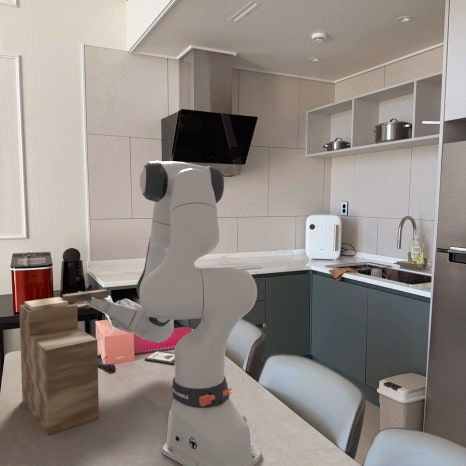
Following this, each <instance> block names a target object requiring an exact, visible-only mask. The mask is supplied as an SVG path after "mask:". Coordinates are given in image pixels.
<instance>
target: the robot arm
mask: <svg viewBox="0 0 466 466" xmlns="http://www.w3.org/2000/svg"><path fill="white" fill-rule="evenodd" d="M139 187H140V190H141V194H142V196H143V197H144V198H145V199H146V200H148V201H151V202H154V204H153V210H152V211H153V212H152V220H151V231H150V237H149V239H148V240H149V241H148V245H147V250H146V257H145V262H144V267H143V268H144V269H143V270H142V272H141V274H140V277H139V279H138V281H137V283H136V292H137V293H136V294H137V295H138V297H139V303H140V304H139V303H137V302H135V301H134V300H133V301H132V300H131V299H128V298H124V299H121V300H117V301H115V302H114V301H111V300H109V299H108V298H102V299H96V298H94V297H91V299H90V300H88V301H83V303H84V304H85V305H87V306H89V307H91V308H93V309H95V310H97V311H99V312H101V313H103V314H105V315H107V316H108V319H109V321H111V322H110V323H111V325H112V327H113V328H115V329H118V330H120V331H123V332H125V333H128V334H134V335H135V336H136V337H138V338H139V339H143V340H145V341H149V342H152V343H163V342H165V341H167V340H168V339H169V338H170V337H171V336H172V334H173V331H174V328H175V326H174V325H175V324H174V323H175V322H174V321H176V320H192V319H193V320H194V319H201V320H200V323H199V324H198V325H197V327H196V328H194V329H193V330H192V331H190V332H188V333H186V334H185V335H183V336H182V337H181V338H180V339H179V340H178V341H177V343H176V345H175V347H174V353H175V365H174V376H173V379H172V385H171V389H172V397H173V402H172V405H171V408H170V410H169V412H168V417H167V419H168V420H167V429H166V442H165V443H164V444H163V445H162V448H161V449H162V450H161V453H162V454H163V455H164V456H166V457H168V458H169V459H172V460H174V461H175V462H177V463H179V464H181V465H182V466H255V465H256V464H258V463H259V461H260V460H261V458H262V457H263V453H262V451H263V450H261V448H260V447H258V445H257V444H255V442H253V441H252V440H251V431H250V428H249V425H248V422H247V421H248V420H247V417H246V415H245V414H244V413H240V412H239V410H238V408H237V407H236V406H235V404H234V403H233V401H232V399H231V398H230V395H231V394H232V393H233V392H230V391H232V390H233V389H232V387H231V388H229V385H228V381H227V378H226V376H225V361H226V348H227V344H228V341H229V338H230V335H231V333H232V330H233V329H234V328H235V326H236V325H237V323H238V322H239V321H240V320H241V319H242V318H243V317H244V316H246V315H247V314H249V312H250V311H251V310H252V309H253V307H254V306H255V303H256V302H257V298H258V287H257V283H256V280H255V279H254V276H253V275H252V274H251V273H250V272H249V271H247V270H245V269H240V268H234V267H227V266H226V267H225V266H224V267H202V268H201V267H197V266H195V265H196V264H195V262H196V261H198V260H199V259H201V258H202V257H204V256H206V255H208V254H210V253H211V252H213V251H214V250H215V249H216V248H217V246H218V244H219V241H220V230H219V220H218V218H219V217H218V210H217V203H219V202H220V201H221V200H222V197H223V195H224V191H225V178H224V175H223V173H222V171H221V170H220V169H218V168H217V167H214V166H209V165H207V166H204V165H202V164H201V165H200V164H195V163H194V164H193V163H188V162H185V161H184V162H183V161H160V160H154V161H153V160H152V161H148V162H147V163H146V164H145V165H144V166H143V169H142V171H141V173H140V176H139ZM79 292H82V291H80V290H79V291H77V293H79Z"/></svg>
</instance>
